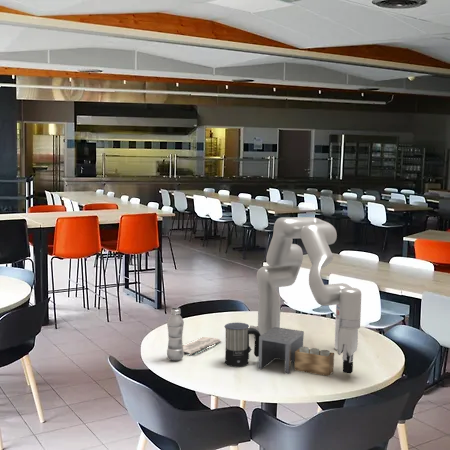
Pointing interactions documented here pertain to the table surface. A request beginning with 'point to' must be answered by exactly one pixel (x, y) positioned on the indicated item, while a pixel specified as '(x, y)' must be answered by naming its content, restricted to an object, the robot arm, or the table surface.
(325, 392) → the table surface
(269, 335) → the gray open-front box
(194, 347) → the newspaper
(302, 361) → the glass carrier
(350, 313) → the robot arm
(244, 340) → the milk frother
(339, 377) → the table surface
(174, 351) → the plastic bottle
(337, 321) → the water bottle
